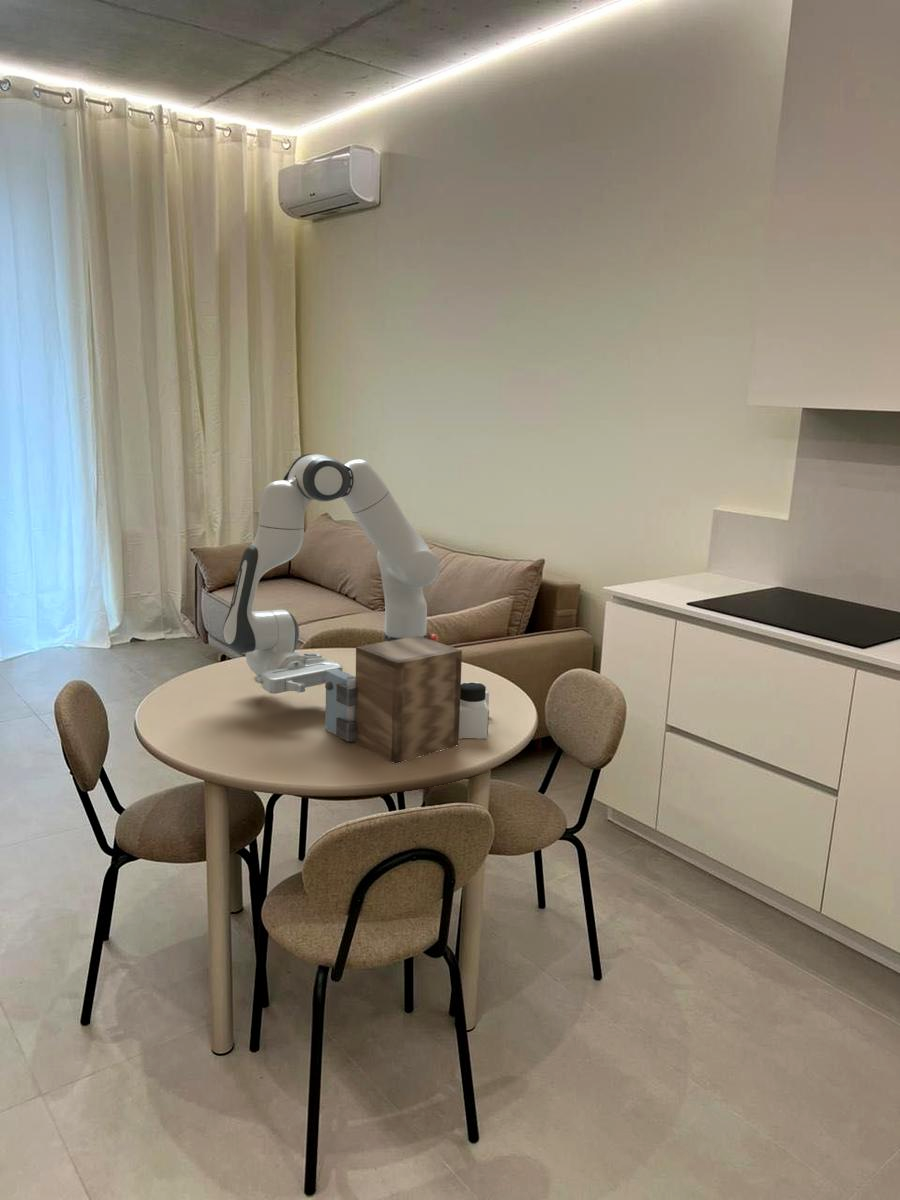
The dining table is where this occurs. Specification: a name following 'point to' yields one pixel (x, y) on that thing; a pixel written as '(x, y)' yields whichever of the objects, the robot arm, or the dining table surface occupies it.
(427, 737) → the cabinet
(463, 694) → the medicine bottle
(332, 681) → the door
